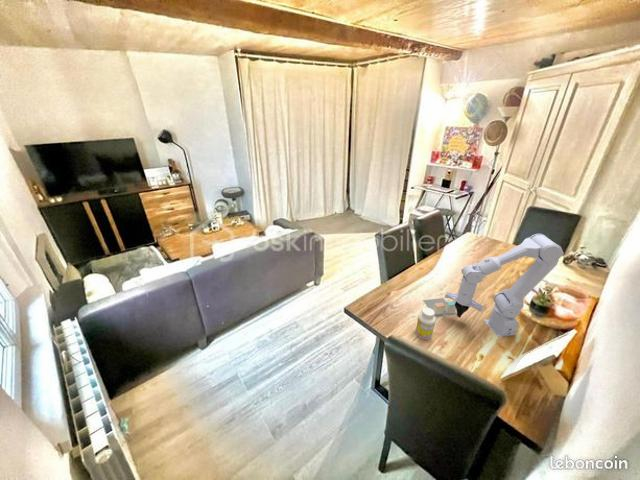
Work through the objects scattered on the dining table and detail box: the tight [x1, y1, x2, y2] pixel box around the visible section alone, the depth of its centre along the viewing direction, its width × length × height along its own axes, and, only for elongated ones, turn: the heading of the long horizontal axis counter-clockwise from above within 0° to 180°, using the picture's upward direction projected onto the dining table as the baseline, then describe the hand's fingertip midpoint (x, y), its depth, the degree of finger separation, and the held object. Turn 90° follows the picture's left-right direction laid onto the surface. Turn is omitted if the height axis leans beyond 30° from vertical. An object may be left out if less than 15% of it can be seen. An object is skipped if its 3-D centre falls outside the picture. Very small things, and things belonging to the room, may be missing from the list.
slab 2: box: [444, 300, 457, 314], centre depth 116 cm, size 2×4×5 cm, turn 97°
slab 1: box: [433, 303, 445, 315], centre depth 115 cm, size 2×4×5 cm, turn 97°
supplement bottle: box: [415, 307, 437, 340], centre depth 103 cm, size 7×7×13 cm
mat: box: [422, 297, 457, 318], centre depth 120 cm, size 12×11×1 cm
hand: (459, 315), depth 110 cm, fingers closed
